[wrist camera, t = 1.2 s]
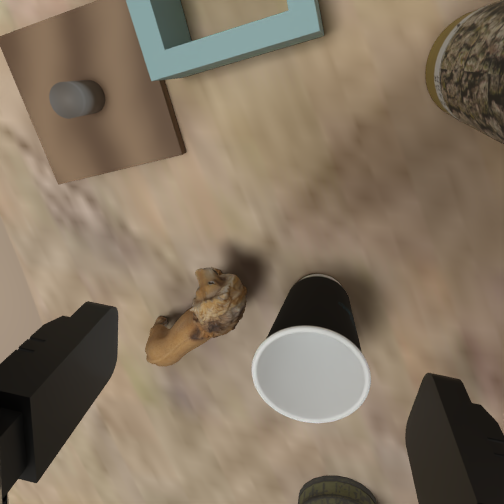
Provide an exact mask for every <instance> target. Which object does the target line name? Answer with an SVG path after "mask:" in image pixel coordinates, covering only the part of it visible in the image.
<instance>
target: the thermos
mask: <svg viewBox="0 0 504 504" xmlns="http://www.w3.org/2000/svg"><path fill="white" fill-rule="evenodd" d="M298 504H377V503H376V499H375V498H374V496H373V495H372V493H371V492H370V491H369V490H368V489H367V488H366V487H364V486H363V485H362V484H360V483H358V482H356V481H354V480H352V479H349V478H345V477H340V476H322V477H318V478H315V479H312V480H311V481H309V482H307V483H306V484H305V485H304V486H303V487H302V489H301V490H300V493H299V500H298Z"/></svg>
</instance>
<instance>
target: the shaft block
mask: <svg viewBox="0 0 504 504" xmlns="http://www.w3.org/2000/svg"><path fill="white" fill-rule="evenodd" d="M0 47H1V49H2V52H3V54H4V56H5V59H6V61H7V63H8V66H9V68H10V71H11V73H12V75H13V78H14V80H15V83H16V85H17V87H18V90H19V92H20V94H21V97H22V99H23V102H24V104H25V106H26V109H27V111H28V113H29V116H30V118H31V121H32V123H33V125H34V128H35V130H36V132H37V135H38V137H39V140H40V142H41V144H42V147H43V149H44V152H45V154H46V156H47V159H48V161H49V163H50V166H51V168H52V171H53V173H54V175H55V178H56V180H57V182H58V184H63V183H67V182H71V181H75V180H79V179H83V178H87V177H91V176H96V175H100V174H104V173H108V172H112V171H116V170H120V169H125V168H129V167H133V166H137V165H141V164H145V163H149V162H153V161H158V160H162V159H166V158H170V157H174V156H178V155H182V154H184V153H186V150H185V146H184V143H183V140H182V137H181V133H180V130H179V127H178V124H177V120H176V117H175V114H174V111H173V107H172V104H171V101H170V98H169V94H168V91H167V88H166V84H165V81H164V80H157V81H151V78H150V75H149V72H148V69H147V66H146V63H145V59H144V56H143V53H142V50H141V47H140V44H139V41H138V37H137V34H136V31H135V28H134V25H133V22H132V18H131V15H130V12H129V9H128V6H127V3H126V0H97V1H94V2H92V3H89V4H86V5H84V6H81V7H78V8H76V9H73V10H70V11H67V12H65V13H62V14H59V15H57V16H54V17H51V18H48V19H46V20H43V21H40V22H38V23H35V24H32V25H30V26H27V27H24V28H21V29H19V30H16V31H13V32H11V33H8V34H5V35H3V36H0Z"/></svg>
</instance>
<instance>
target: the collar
mask: <svg viewBox="0 0 504 504" xmlns="http://www.w3.org/2000/svg"><path fill="white" fill-rule="evenodd" d="M126 3H127V6H128V9H129V12H130V15H131V18H132V22H133V25H134V28H135V31H136V34H137V37H138V41H139V44H140V47H141V50H142V53H143V56H144V59H145V63H146V66H147V69H148V72H149V75H150V78H151V81H157V80H166V79H175V78H183V77H186V76H190V75H193V74H197V73H200V72H203V71H207V70H210V69H214V68H217V67H220V66H224V65H227V64H230V63H234V62H237V61H241V60H244V59H247V58H251V57H254V56H258V55H261V54H264V53H268V52H271V51H275V50H278V49H281V48H285V47H288V46H292V45H295V44H298V43H302V42H305V41H309V40H312V39H315V38H319V37H322V36H324V31H323V25H322V20H321V14H320V9H319V3H318V0H287V4H288V9H289V11H286V12H283V13H279V14H276V15H273V16H270V17H267V18H264V19H261V20H257V21H254V22H251V23H248V24H245V25H242V26H239V27H235V28H232V29H229V30H226V31H223V32H220V33H216V34H213V35H210V36H207V37H204V38H201V39H198V40H194V41H191V37H190V34H189V30H188V26H187V23H186V19H185V16H184V12H183V8H182V5H181V1H180V0H126Z"/></svg>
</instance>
